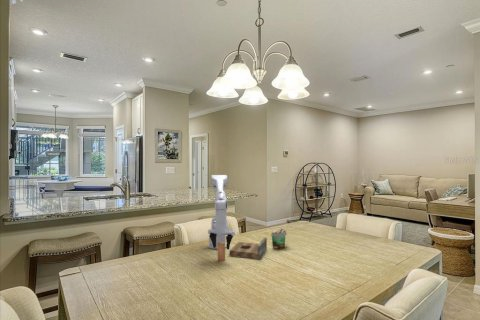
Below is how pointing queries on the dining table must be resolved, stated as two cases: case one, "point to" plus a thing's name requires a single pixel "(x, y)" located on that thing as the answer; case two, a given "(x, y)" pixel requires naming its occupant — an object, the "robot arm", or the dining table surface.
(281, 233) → the food container
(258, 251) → the socket block
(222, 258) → the peg
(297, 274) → the dining table surface
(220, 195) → the robot arm
